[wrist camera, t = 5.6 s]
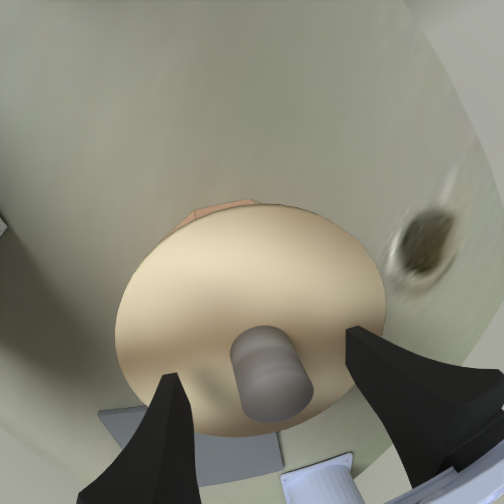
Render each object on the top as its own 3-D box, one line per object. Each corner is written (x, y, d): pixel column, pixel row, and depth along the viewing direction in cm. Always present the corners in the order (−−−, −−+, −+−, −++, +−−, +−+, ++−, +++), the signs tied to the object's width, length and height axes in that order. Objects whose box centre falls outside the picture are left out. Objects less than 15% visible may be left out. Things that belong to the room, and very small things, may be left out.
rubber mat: (282, 465, 27) (283, 469, 26) (158, 487, 25) (158, 491, 24) (265, 381, 22) (266, 386, 21) (99, 411, 20) (98, 415, 20)
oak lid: (367, 393, 18) (397, 436, 14) (164, 441, 16) (166, 495, 13) (380, 184, 13) (439, 204, 10) (80, 237, 12) (42, 277, 8)
